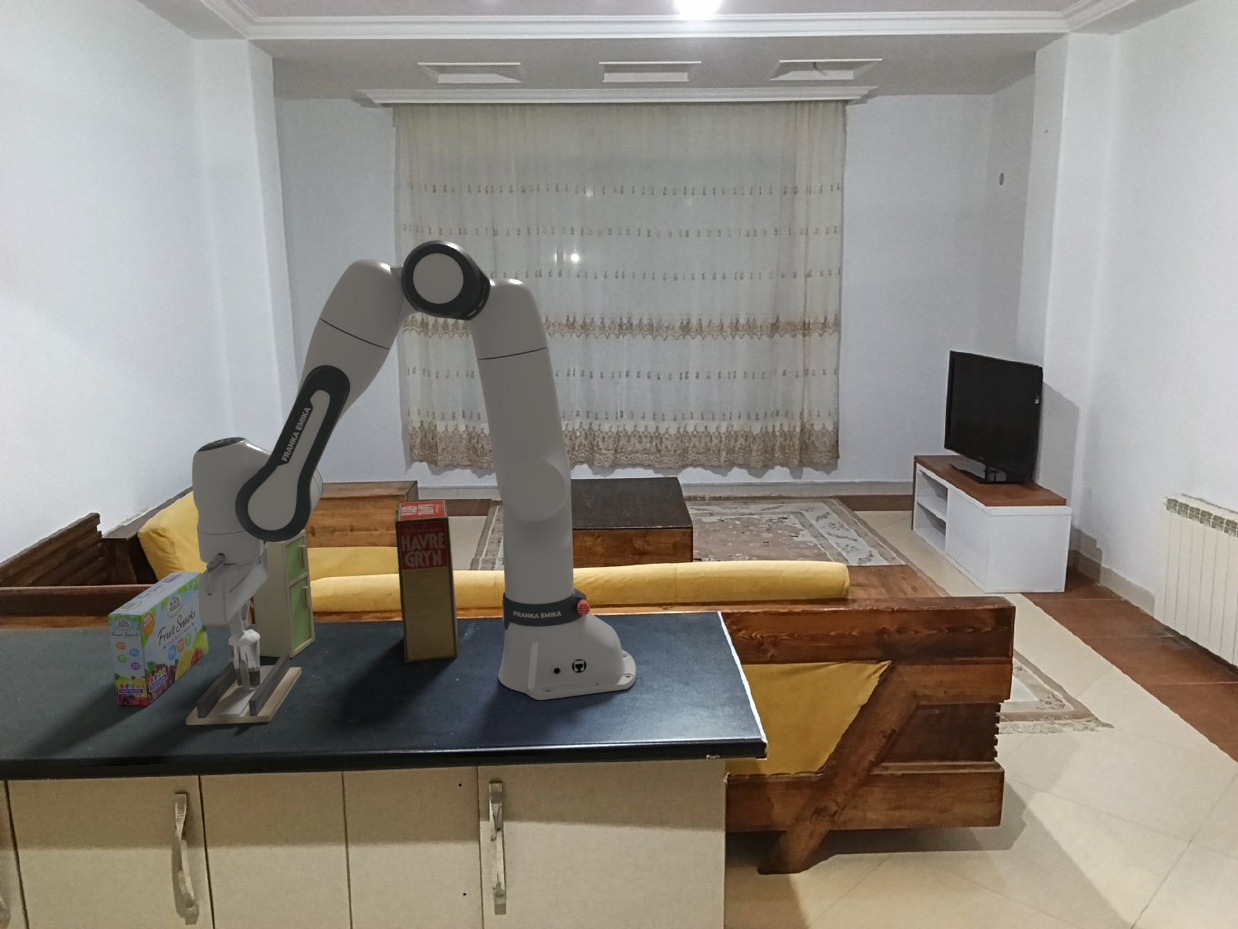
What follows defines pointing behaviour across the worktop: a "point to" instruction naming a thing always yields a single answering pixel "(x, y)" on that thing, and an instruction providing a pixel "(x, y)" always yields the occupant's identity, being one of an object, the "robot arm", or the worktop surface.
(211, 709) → the rail plate
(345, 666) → the worktop surface
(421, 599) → the food packaging
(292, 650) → the toy refrigerator
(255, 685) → the milkshake
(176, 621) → the snack box
